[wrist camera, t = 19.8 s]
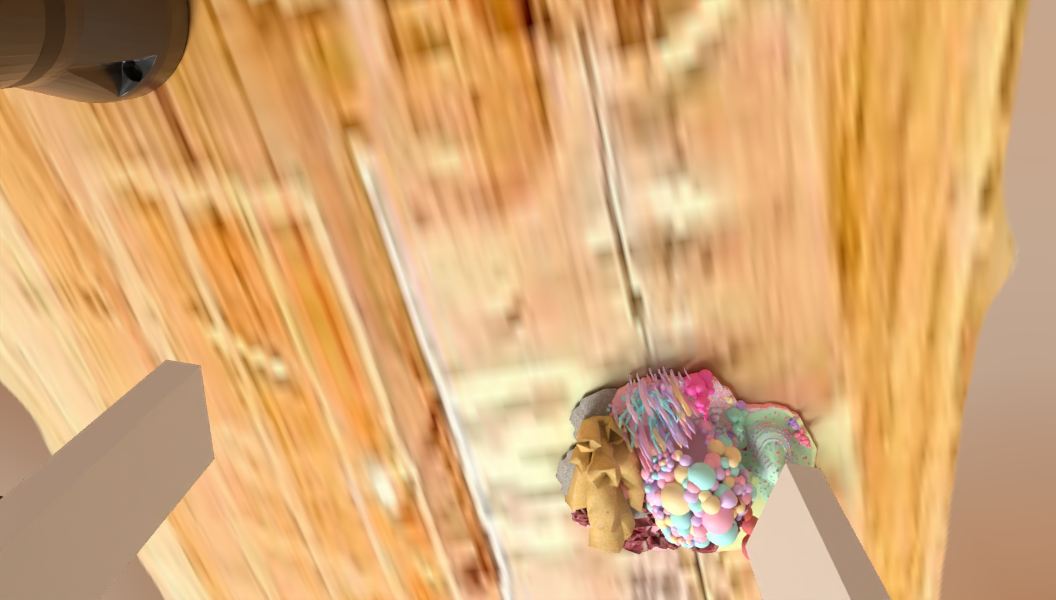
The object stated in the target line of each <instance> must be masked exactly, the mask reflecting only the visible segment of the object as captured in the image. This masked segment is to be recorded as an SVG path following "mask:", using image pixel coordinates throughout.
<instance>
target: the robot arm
mask: <svg viewBox="0 0 1056 600" xmlns="http://www.w3.org/2000/svg"><path fill="white" fill-rule="evenodd" d="M187 32H188V6H187V0H0V89H4V88H12V87H16V88H21V89H25V90H30V91H34V92H39V93H43V94H47V95H52V96H56V97H61V98H65V99H70V100H74V101H79V102H87V103H108V102H116V101H121V100H127V99H132V98H136V97H140V96H143V95H145V94H148V93H150V92H152V91H153V90H155V89H157V88H158V87H159V86H161V85H162V84H163V83H164V82H165V81H166V80H167V79H168V78H169V77H170V76H171V74H172V73H173V72H174V70H175V69H176V67H177V65H178V63H179V61H180V59H181V57H182V54H183V51H184V48H185V44H186V39H187ZM213 460H214V452H213V446H212V439H211V432H210V425H209V419H208V412H207V405H206V399H205V392H204V385H203V378H202V372H201V365H195V364H189V363H183V362H177V361H171V360H165V361H164V362H163V363H162V364H161V365H160V366H158V367H157V368H156V369H155V370H154V371H152V372H151V373H150V374H149V375H148V376H146V377H145V378H144V379H143V380H142V381H141V382H139V383H138V384H137V385H136V386H135V387H133V388H132V389H131V390H130V391H129V392H127V393H126V394H125V395H124V396H123V397H122V398H120V399H119V400H118V401H117V402H116V403H114V404H113V405H112V406H111V407H110V408H108V409H107V410H106V411H105V412H104V413H102V414H101V415H100V416H99V417H98V418H97V419H95V420H94V421H93V422H92V423H91V424H89V425H88V426H87V427H86V428H85V429H83V430H82V431H81V432H80V433H79V434H78V435H76V436H75V437H74V438H73V439H72V440H70V441H69V442H68V443H67V444H66V445H64V446H63V447H62V448H61V449H60V450H59V451H57V452H56V453H55V454H54V455H53V456H51V457H50V458H49V459H48V460H47V461H45V462H44V463H43V464H42V465H41V466H40V467H38V468H37V469H36V470H35V471H34V472H32V473H31V474H30V475H29V476H28V477H27V478H25V479H24V480H23V481H22V482H20V483H19V484H18V485H17V486H16V487H15V488H13V489H12V490H11V491H10V492H9V493H8V494H6V495H5V496H4V497H2V496H0V600H100V599H101V597H102V596H103V595H104V594H105V592H106V591H107V590H108V589H109V587H110V586H111V585H112V584H113V583H114V581H115V580H116V579H117V578H118V576H119V575H120V574H121V573H122V571H123V570H124V569H125V568H126V567H127V565H128V564H129V563H130V562H131V560H132V559H133V558H134V557H135V556H136V554H137V553H138V552H139V551H140V549H141V548H142V547H143V546H144V544H145V543H146V542H147V541H148V540H149V538H150V537H151V536H152V535H153V533H154V532H155V531H156V530H157V528H158V527H159V526H160V525H161V524H162V522H163V521H164V520H165V519H166V517H167V516H168V515H169V514H170V513H171V511H172V510H173V509H174V508H175V506H176V505H177V504H178V503H179V501H180V500H181V499H182V498H183V497H184V495H185V494H186V493H187V492H188V490H189V489H190V488H191V487H192V485H193V484H194V483H195V482H196V481H197V479H198V478H199V477H200V476H201V474H202V473H203V472H204V471H205V470H206V468H207V467H208V466H209V465H210V463H211V462H212V461H213ZM745 548H746V551H747V554H748V557H749V560H750V563H751V566H752V569H753V572H754V576H755V579H756V582H757V585H758V588H759V591H760V594H761V597H762V600H891V598H890V596H889V595H888V593H887V591H886V589H885V587H884V585H883V584H882V582H881V580H880V578H879V576H878V574H877V573H876V571H875V569H874V567H873V565H872V563H871V562H870V560H869V558H868V556H867V554H866V552H865V551H864V549H863V547H862V545H861V543H860V541H859V540H858V538H857V536H856V534H855V532H854V530H853V529H852V527H851V525H850V523H849V521H848V519H847V518H846V516H845V514H844V512H843V510H842V508H841V506H840V505H839V503H838V501H837V499H836V497H835V495H834V494H833V492H832V490H831V488H830V486H829V484H828V483H827V481H826V479H825V477H824V475H823V473H822V472H821V470H820V468H814V467H808V466H802V465H796V464H790V463H785V465H784V467H783V469H782V471H781V473H780V476H779V478H778V480H777V482H776V484H775V486H774V488H773V490H772V492H771V494H770V496H769V498H768V500H767V502H766V504H765V506H764V509H763V511H762V513H761V515H760V517H759V519H758V521H757V523H756V525H755V527H754V529H753V531H752V533H751V535H750V537H749V539H748V542H747V544H746V546H745Z"/></svg>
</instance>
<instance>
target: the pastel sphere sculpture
mask: <svg viewBox="0 0 1056 600" xmlns="http://www.w3.org/2000/svg"><path fill="white" fill-rule="evenodd" d="M662 369H663V373H662V374H661V372H660V369H658V373H659V375H660V377H661V379H657V376H656V374H654V377H653V375H652V372H651V369H650V367H649V372H650V374H651V377H652V378H653V379H651V377H650V376H648V373H647V374H646V377H647V378H646V377H643V378H641V380H640V379H639V376H638V373H636V376H637V380H638V382H635V379H633V381H634V382H632V380H631V375H630V374H629V380H630V383H629V382H628V383H627V385H625V386H623V387H621V388H619V389H618V390H617V389H615V388H613V389H607V388H606V389H602V390H600V391H598V392H596V393H594V394H592V395H589V396H587V397H585V398H583V399H582V400H581V401H580V405H579V406H578V407H576V408H575V409H573V410H572V414H571V416H570V421H571V423H572V424H573V426H574V427H575V431H574V433H573V435H574V437H575V439H576V440H577V442H576V444H577V445H576V447H575V448H574V449H572V450H570V451H569V452H568V453H567V456H566V458H565V459H563V460H561V461H560V463H559V467H558V471H557V474H556V478H557V479H558V480H559V482H560V483H561V484H562V488H561V491H562V493H563V494H564V495H565V501H566V502H567V504H568V505H569V506H570V508H571V509H572V510H573V511H574V513H571V514H572V519H573V521H574V522H575V523H576V524H577V525H580V526H584V527H589V528H590V535H589V546H590V547H593V548H595V549H598V550H601V551H603V552H606V553H620V551H621V549H622V548H624V549H626V550H629V551H631V552H634V553H637V554H640V553H641V552H645V551H648V550H649V549H650V550H651V549H653V550H660V551H665V550H668V549H673V550H674V549H677V548H678V547H680V546H681V545H682V546H683V547H686V548H692V551H696V552H700V553H712V552H715V553H717V552H721V551H728V550H738V549H741V550H742V551H743V553H744V555H745V557H746V558H747V559H748V560H749V557H748V554H747V551H746V548H745V546H746V544H747V542H748V539H749V537H750V535H751V533H752V531H753V529H754V527H755V525H756V523H757V521H758V519H759V517H760V515H761V513H762V511H763V509H764V506H765V504H766V502H767V500H768V498H769V496H770V494H771V492H772V490H773V488H774V486H775V484H776V482H777V480H778V478H779V476H780V473H781V471H782V469H783V467H784V465H785V463H790V464H796V465H802V466H808V467H814V464H815V461H816V458H815V456H816V452H817V448H816V446H815V444H814V442H813V440H812V438H811V436H810V435H809V433H808V431H807V429H806V427H805V426H804V424H803V422H802V420H801V418H800V417H799V415H798V414H797V413H796V412H794V411H790V410H789V409H788V408H787V407H786V406H781V405H778V404H772V403H765V404H755V403H754V404H746V403H745V402H744V401H742V400H736V399H735V397H734V395H733V394H732V392H731V390H730V389H729V387H727V386H724V385H721V384H720V382H719V381H718V379H717V378H716V377H715V376H712V373H711V372H710V371H709V370H707V369H703V370H700V371H699V373H698V372H697V373H691V374H687V372H686V369H685V367H683V369H684V371H685V374H686V375H687V376H686V377H681V374H680V371H679V372H678V376H675V375H674V373H673V370H672V369H670V370H669V371H670V375H668V376H667V373H666V371H665V368H664V366H663V367H662ZM664 374H665V375H664Z"/></svg>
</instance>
